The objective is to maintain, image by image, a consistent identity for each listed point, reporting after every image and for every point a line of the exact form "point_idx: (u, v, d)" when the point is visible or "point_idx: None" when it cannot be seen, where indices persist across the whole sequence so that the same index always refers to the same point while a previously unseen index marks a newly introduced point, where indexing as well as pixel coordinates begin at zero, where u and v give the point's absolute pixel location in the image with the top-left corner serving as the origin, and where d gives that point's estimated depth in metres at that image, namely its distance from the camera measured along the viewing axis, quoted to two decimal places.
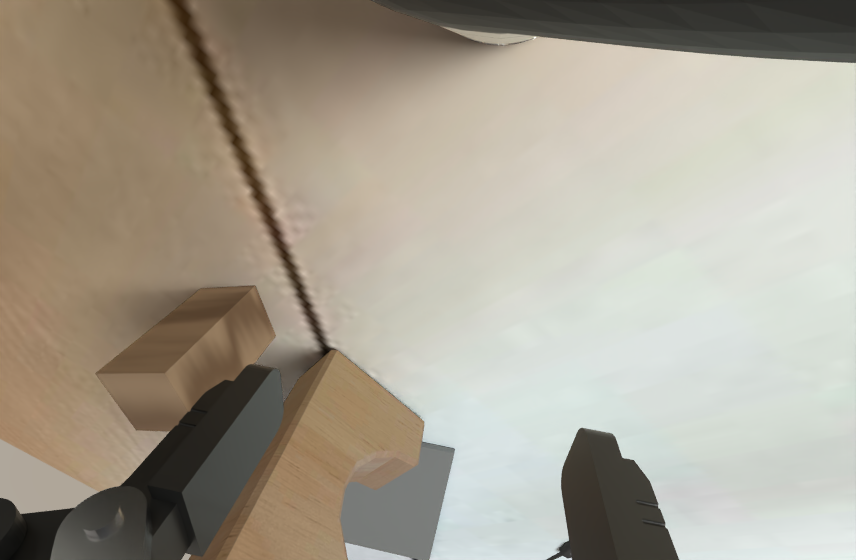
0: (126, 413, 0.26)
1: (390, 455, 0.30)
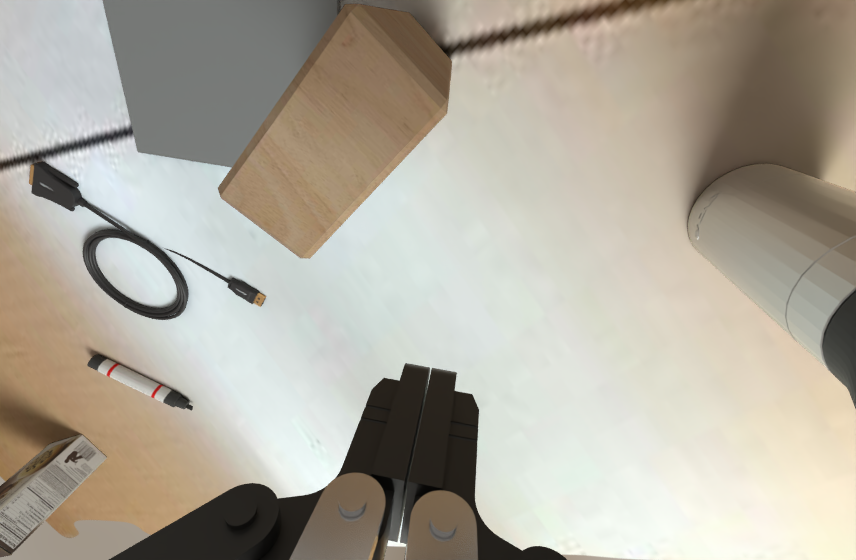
0: None
1: None
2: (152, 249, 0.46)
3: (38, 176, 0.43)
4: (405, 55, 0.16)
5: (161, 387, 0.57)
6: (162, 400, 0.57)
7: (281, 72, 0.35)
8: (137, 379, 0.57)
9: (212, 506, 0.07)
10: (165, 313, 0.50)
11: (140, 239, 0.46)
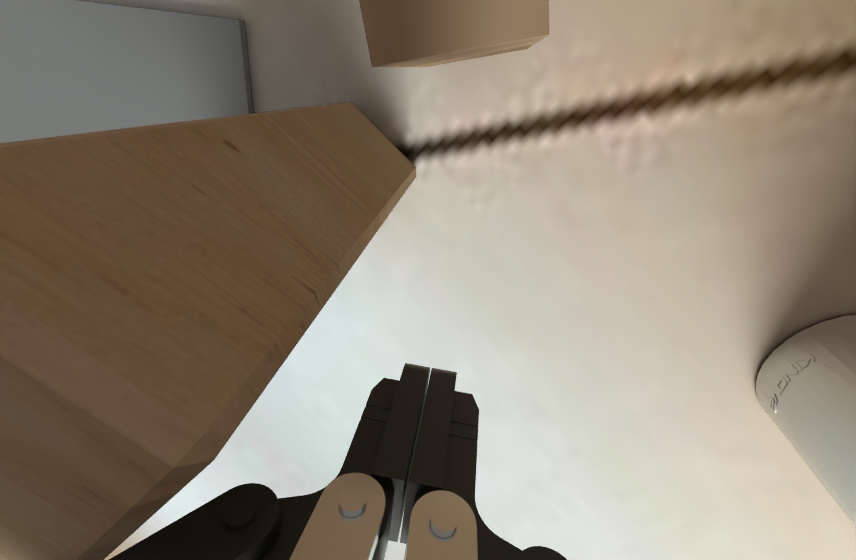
0: None
1: None
2: None
3: None
4: (42, 315, 0.05)
5: None
6: None
7: None
8: None
9: (212, 506, 0.07)
10: None
11: None
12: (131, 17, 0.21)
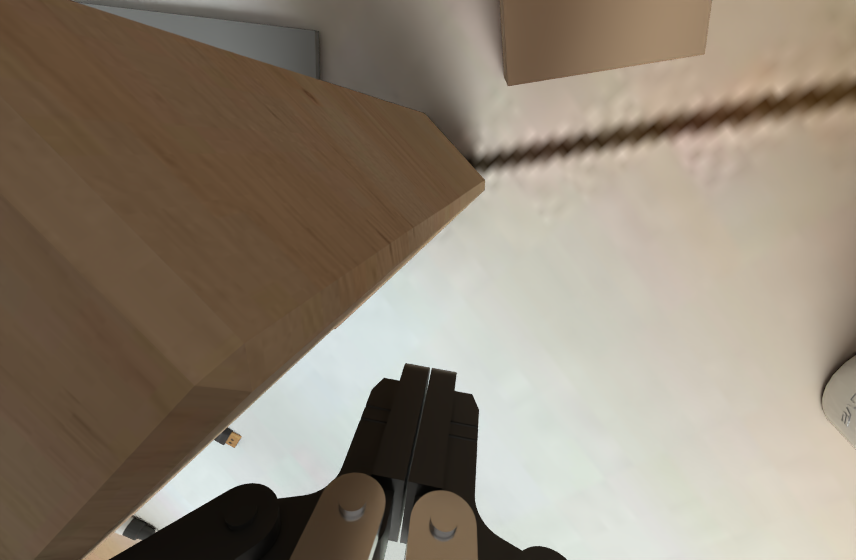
0: None
1: None
2: None
3: None
4: (58, 146, 0.03)
5: None
6: (121, 533, 0.47)
7: None
8: None
9: (212, 506, 0.07)
10: None
11: None
12: (203, 27, 0.21)
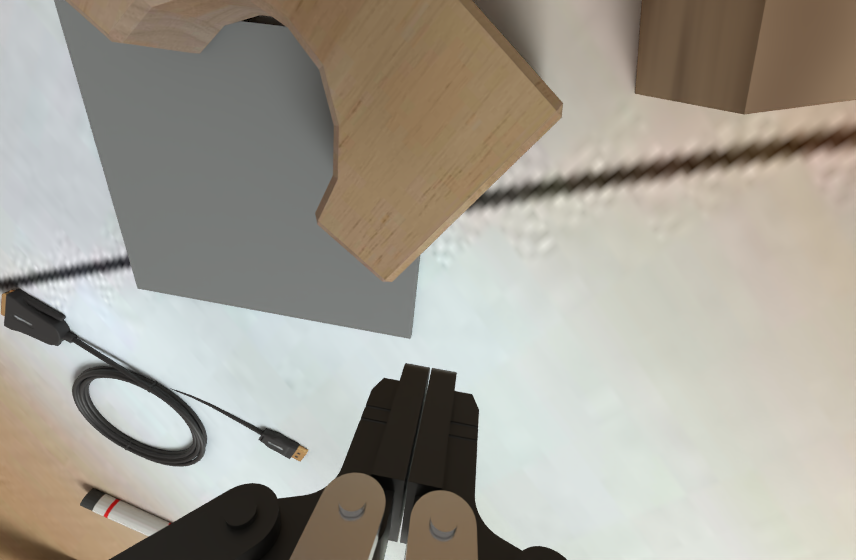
0: None
1: (334, 162, 0.17)
2: (161, 395, 0.35)
3: (12, 308, 0.33)
4: None
5: None
6: None
7: None
8: (141, 520, 0.46)
9: (212, 506, 0.07)
10: (177, 460, 0.40)
11: (146, 381, 0.35)
12: None
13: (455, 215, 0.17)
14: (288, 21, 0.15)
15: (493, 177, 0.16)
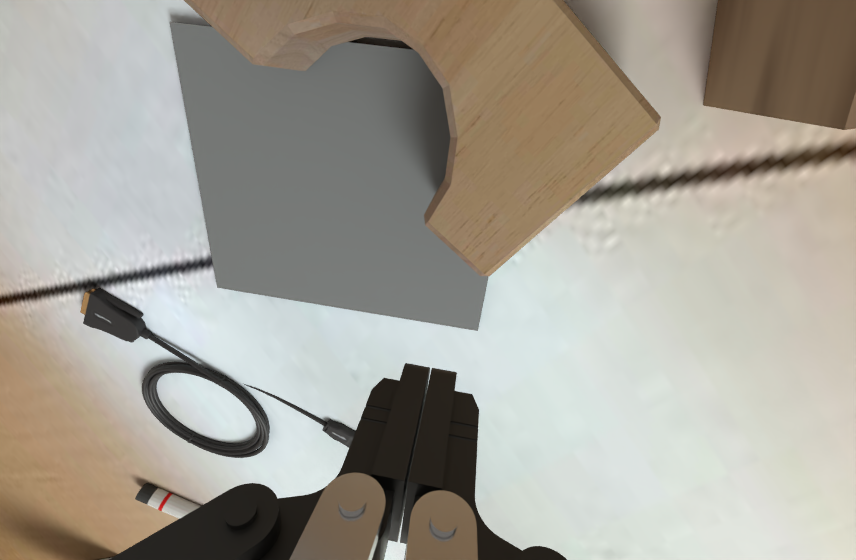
0: None
1: (447, 169, 0.19)
2: (232, 388, 0.37)
3: (93, 307, 0.34)
4: None
5: None
6: None
7: (424, 205, 0.26)
8: None
9: (212, 506, 0.07)
10: (239, 451, 0.41)
11: (217, 376, 0.37)
12: (420, 60, 0.22)
13: (555, 215, 0.20)
14: (421, 47, 0.17)
15: (593, 182, 0.19)
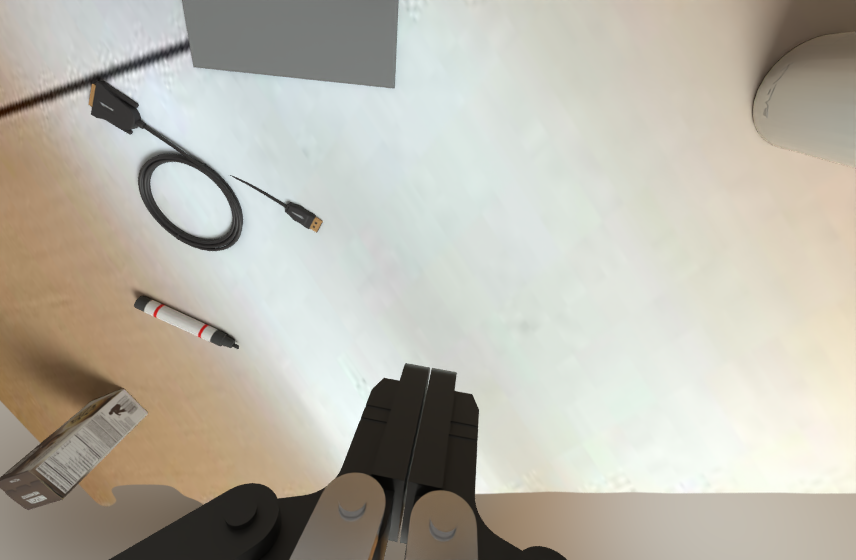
0: None
1: None
2: (210, 172, 0.46)
3: (99, 95, 0.43)
4: None
5: (206, 326, 0.57)
6: (209, 338, 0.57)
7: None
8: (183, 318, 0.57)
9: (212, 506, 0.07)
10: (218, 243, 0.50)
11: (198, 162, 0.46)
12: None
13: None
14: None
15: None
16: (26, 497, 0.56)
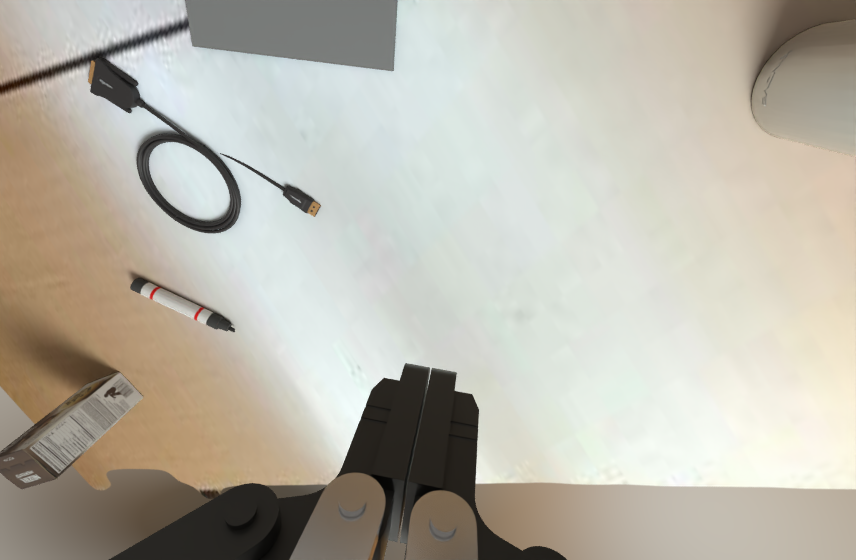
0: None
1: None
2: (209, 153, 0.46)
3: (98, 72, 0.43)
4: None
5: (202, 309, 0.57)
6: (205, 321, 0.57)
7: None
8: (179, 301, 0.57)
9: (212, 506, 0.07)
10: (216, 226, 0.50)
11: (197, 143, 0.46)
12: None
13: None
14: None
15: None
16: (20, 476, 0.56)
